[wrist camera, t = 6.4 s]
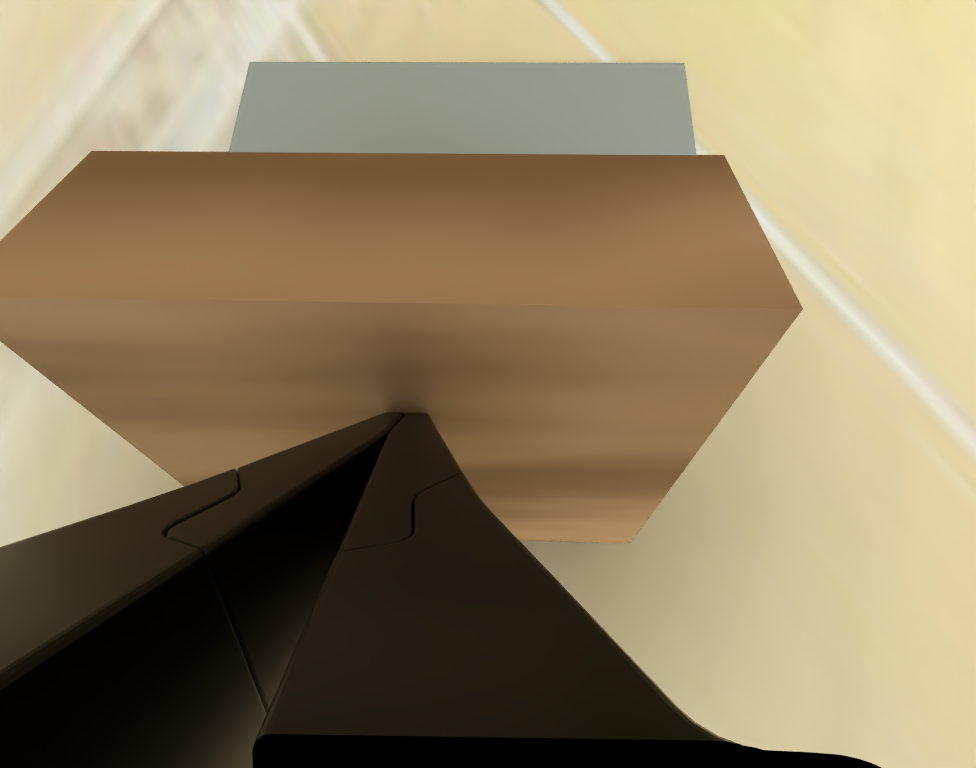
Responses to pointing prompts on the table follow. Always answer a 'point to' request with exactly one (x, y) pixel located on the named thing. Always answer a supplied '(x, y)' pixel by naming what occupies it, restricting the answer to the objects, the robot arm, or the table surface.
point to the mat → (465, 108)
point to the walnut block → (407, 312)
